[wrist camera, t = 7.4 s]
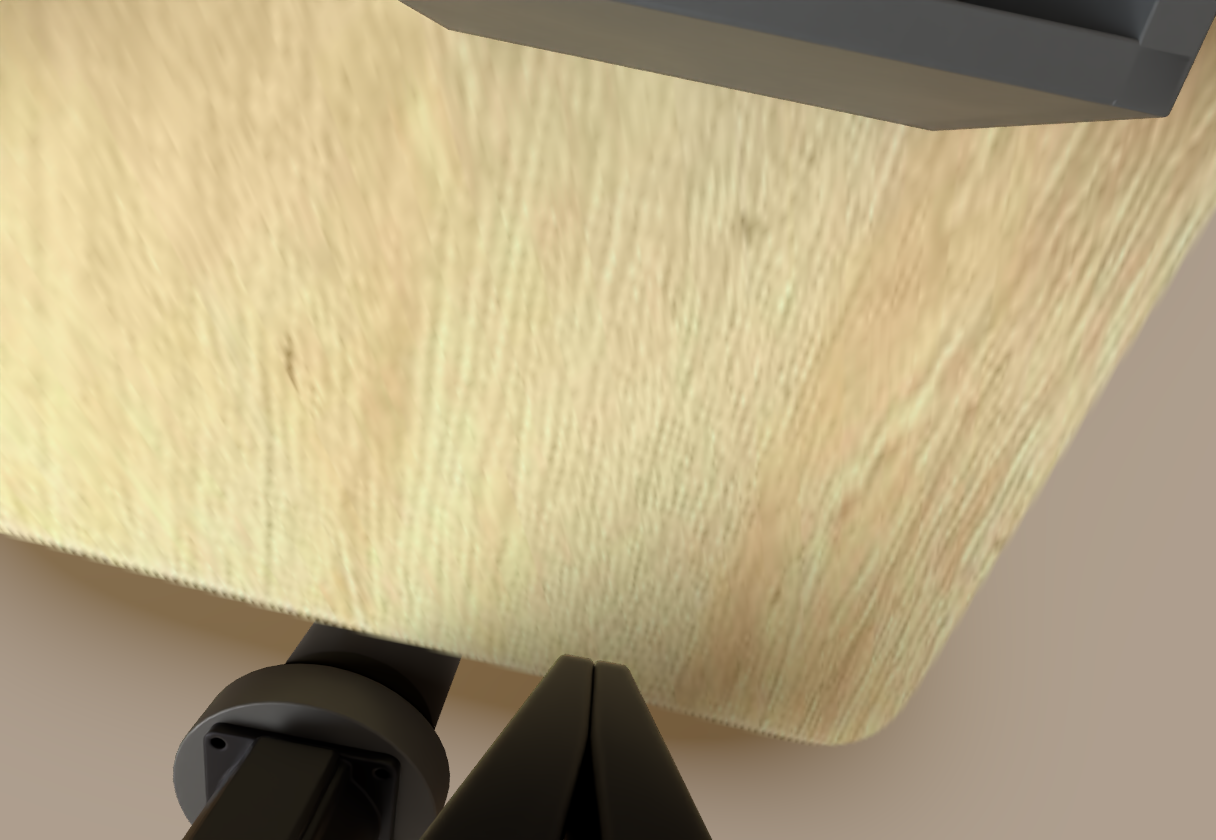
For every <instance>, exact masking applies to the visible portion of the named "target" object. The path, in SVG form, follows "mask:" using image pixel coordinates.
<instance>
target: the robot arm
mask: <svg viewBox="0 0 1216 840" xmlns="http://www.w3.org/2000/svg"><path fill="white" fill-rule="evenodd" d="M203 749H204V769H205V788H206V805H205V807H204V808H203V810H202V811H201V813H200V814H199V816H198V817H197V819H196V820H195V821H194V823H193V824H192V826H191V827H190V829H189V830H188V832H187V833H186V835H185V836H184V838H183V839H182V840H393V837H394V827H395V818H396V808H397V798H398V789H399V779H400V770H401V765H400V762H399V761H398V759H397V758H395V757H394V756H392V755H390V754H386V753H381V752H376V751H370V750H365V749H360V748H355V747H349V746H344V745H339V744H334V743H329V742H323V741H318V740H313V739H308V738H302V737H297V736H292V735H287V734H281V733H276V732H271V731H266V730H260V729H255V728H250V727H245V726H240V725H234V724H229V723H221V722H219V723H216V724H214V725H213V726H212V727H211V728H210V729H209V731H208V732H207V733H206V734H205V736H204V739H203ZM419 840H712V839H711V836H710V835H709V832H708V830H707V828H706V826H705V824H704V822H703V820H702V818H701V816H700V814H699V812H698V810H697V808H696V806H695V804H694V802H693V800H692V798H691V796H690V793H689V791H688V789H687V787H686V785H685V783H684V781H683V779H682V777H681V775H680V773H679V771H678V769H677V767H676V765H675V763H674V761H673V759H672V757H671V755H670V753H669V750H668V748H667V746H666V744H665V742H664V740H663V738H662V736H661V734H660V732H659V730H658V728H657V726H656V724H655V722H654V720H653V718H652V716H651V714H650V712H649V709H648V707H647V705H646V703H645V701H644V699H643V697H642V695H641V693H640V691H639V689H638V687H637V685H636V683H635V681H634V679H633V677H632V675H631V673H630V671H629V669H628V668H627V667H626V666H625V665H621V664H616V663H611V662H605V661H597V662H596V663H595V664H593V661H592V660H591V659H589V658H584V657H578V656H573V655H568V654H564V655H561V656H560V657H559V658H558V659H557V661H556V662H555V663H554V665H553V666H552V667H551V668H550V670H549V671H548V672H547V674H546V675H545V676H544V678H543V679H542V680H541V682H540V683H539V684H538V686H537V687H536V688H535V689H534V691H533V692H532V693H531V695H530V696H529V697H528V699H527V700H526V701H525V702H524V704H523V705H522V706H521V708H520V709H519V710H518V712H517V713H516V714H515V715H514V717H513V718H512V719H511V721H510V722H509V723H508V724H507V726H506V727H505V728H504V730H503V731H502V732H501V734H500V735H499V736H498V738H497V739H496V740H495V741H494V743H493V744H492V745H491V747H490V748H489V749H488V750H487V752H486V753H485V755H484V756H483V757H482V758H481V760H480V761H479V762H478V764H477V765H476V766H475V767H474V769H473V770H472V771H471V773H470V774H469V775H468V777H467V778H466V779H465V781H464V782H463V783H462V785H461V786H460V787H459V788H458V790H457V791H456V792H455V794H454V795H453V796H452V797H451V799H450V800H449V801H448V803H447V804H446V805H445V806H444V808H443V809H442V810H441V812H440V813H439V814H438V816H437V817H436V818H435V819H434V821H433V822H432V823H431V825H430V826H429V827H428V829H427V830H426V831H425V832H424V834H423V835H422V836H421V838H420V839H419Z"/></svg>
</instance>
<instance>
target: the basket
mask: <svg viewBox="0 0 1216 840" xmlns="http://www.w3.org/2000/svg"><path fill="white" fill-rule="evenodd" d="M399 1H400V2H402V3H404V4H406V5H407V6H409V7H411V8H412V9H414V10H416V11H418V12H419V13H421V14H423V15H424V16H426V17H428V18H430V19H431V20H433V21H435V22H436V23H438V24H440V25H441V26H443V27H445V28H447V29H448V30H453V31H458V32H462V33H467V34H472V35H477V36H482V37H486V38H491V39H496V40H501V41H505V42H510V43H515V44H520V45H525V46H529V47H534V48H539V49H544V50H549V51H553V52H558V53H563V54H568V55H572V56H577V57H582V58H587V59H592V60H596V61H601V62H606V63H611V64H616V65H620V66H625V67H630V68H635V69H639V70H644V71H649V72H654V73H659V74H663V75H668V76H673V77H678V78H683V79H687V80H692V81H697V82H702V83H706V84H711V85H716V86H721V87H726V88H730V89H735V90H740V91H745V92H750V93H754V94H759V95H764V96H769V97H773V98H778V99H783V100H788V101H793V102H797V103H802V104H807V105H812V106H817V107H821V108H826V109H831V110H836V111H840V112H845V113H850V114H855V115H860V116H864V117H869V118H874V119H879V120H884V121H888V122H893V123H898V124H903V125H907V126H911V127H916V128H921V129H926V130H931V131H938V130H955V129H972V128H989V127H1007V126H1024V125H1041V124H1058V123H1075V122H1092V121H1109V120H1126V119H1143V118H1160V117H1167V116H1168V115H1169V114H1170V112H1171V110H1172V108H1173V105H1174V103H1175V101H1176V99H1177V97H1178V95H1179V93H1180V90H1181V88H1182V86H1183V84H1184V82H1185V80H1186V78H1187V75H1188V73H1189V71H1190V69H1191V67H1192V65H1193V63H1194V60H1195V58H1196V56H1197V54H1198V52H1199V50H1200V48H1201V45H1202V43H1203V41H1204V39H1205V37H1206V35H1207V33H1208V30H1209V28H1210V26H1211V24H1212V22H1213V20H1214V18H1215V15H1216V0H399Z"/></svg>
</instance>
